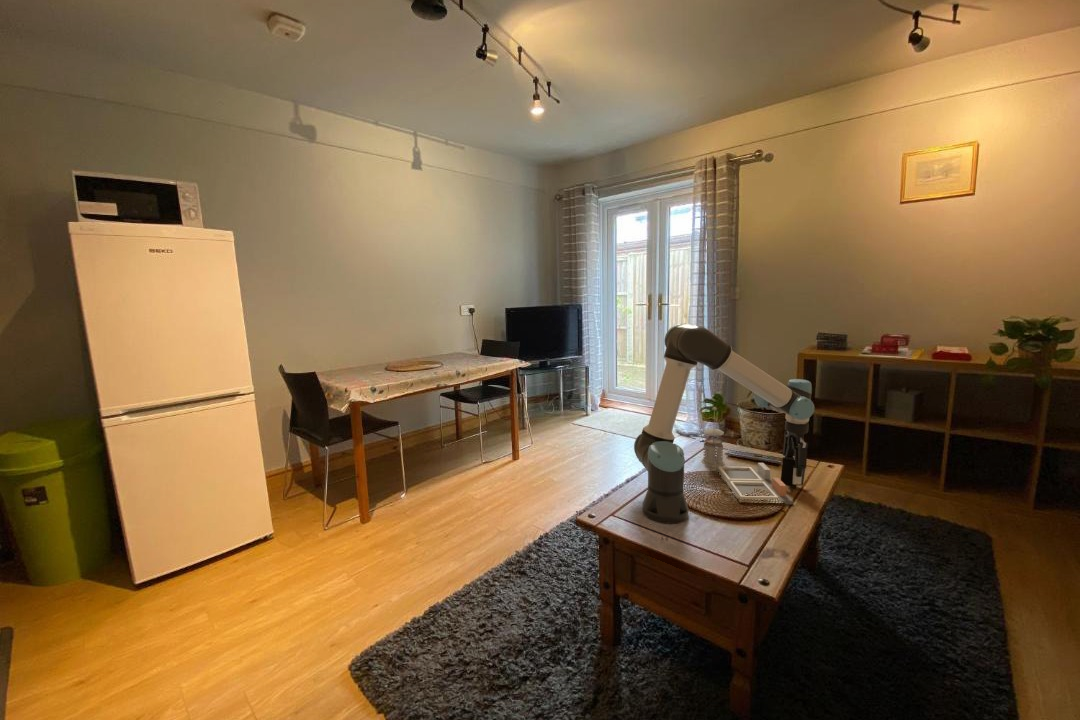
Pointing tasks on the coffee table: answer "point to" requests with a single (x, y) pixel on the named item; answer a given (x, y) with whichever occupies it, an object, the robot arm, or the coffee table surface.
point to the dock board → (754, 482)
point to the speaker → (789, 472)
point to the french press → (713, 447)
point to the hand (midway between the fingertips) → (792, 479)
